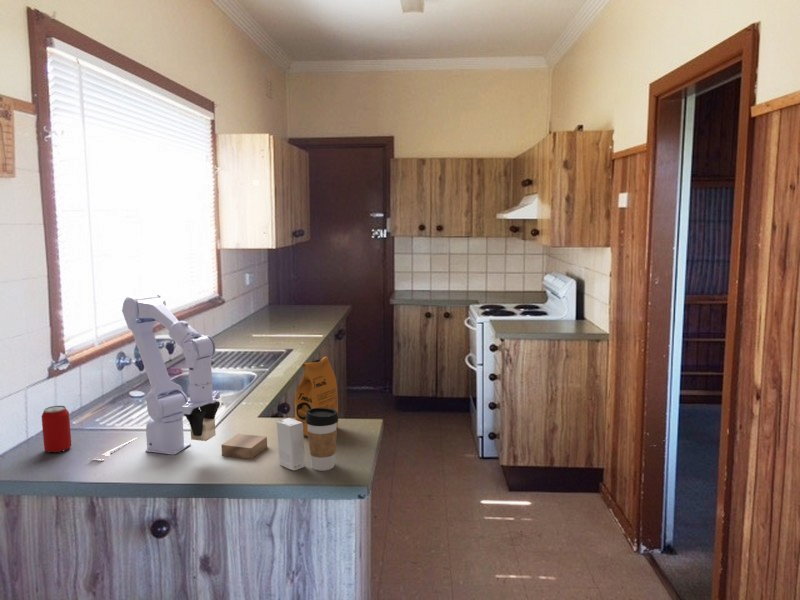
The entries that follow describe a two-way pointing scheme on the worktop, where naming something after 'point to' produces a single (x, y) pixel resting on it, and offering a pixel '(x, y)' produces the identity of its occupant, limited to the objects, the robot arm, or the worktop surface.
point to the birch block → (206, 430)
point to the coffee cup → (322, 437)
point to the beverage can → (56, 429)
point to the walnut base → (244, 446)
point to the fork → (112, 450)
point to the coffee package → (316, 390)
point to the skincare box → (291, 444)
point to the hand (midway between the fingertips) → (203, 432)
